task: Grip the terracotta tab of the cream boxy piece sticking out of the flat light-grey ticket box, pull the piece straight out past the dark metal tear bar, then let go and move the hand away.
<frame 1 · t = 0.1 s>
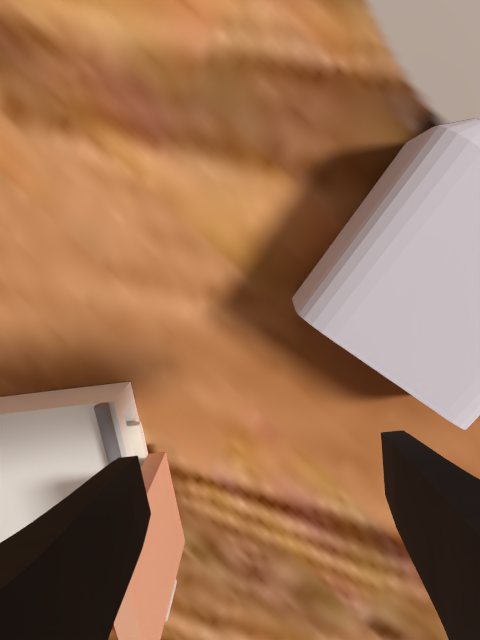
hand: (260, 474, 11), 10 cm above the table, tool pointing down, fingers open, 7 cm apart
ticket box: (61, 497, 24), on the table
charger: (455, 225, 19), on the table
cream boxy piece: (44, 556, 20), point 5 cm above the table, slide at 0.0 cm
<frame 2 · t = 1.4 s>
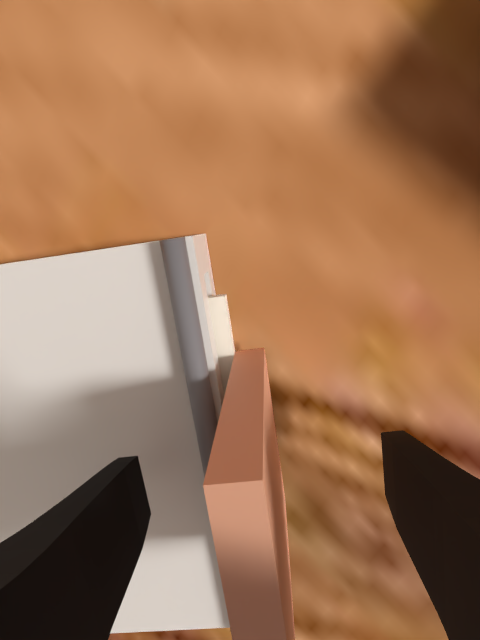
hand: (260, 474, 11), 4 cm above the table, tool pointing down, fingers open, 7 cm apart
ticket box: (87, 433, 16), on the table
cream boxy piece: (67, 511, 11), point 5 cm above the table, slide at 0.0 cm
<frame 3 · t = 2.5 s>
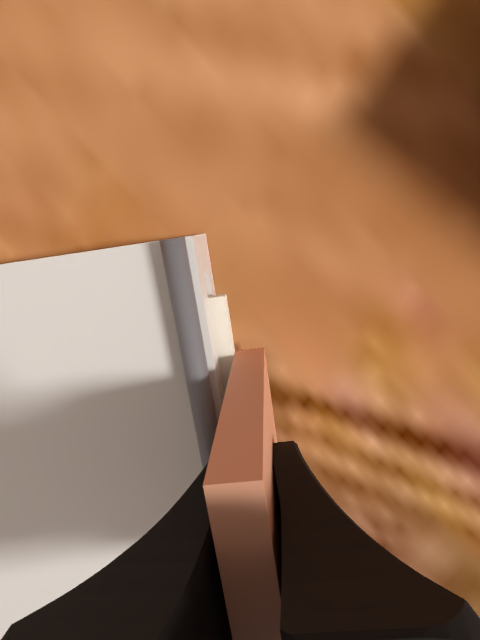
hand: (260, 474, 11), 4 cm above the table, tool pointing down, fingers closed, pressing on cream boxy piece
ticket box: (87, 433, 16), on the table
cream boxy piece: (67, 511, 11), point 5 cm above the table, slide at 0.0 cm, touching gripper
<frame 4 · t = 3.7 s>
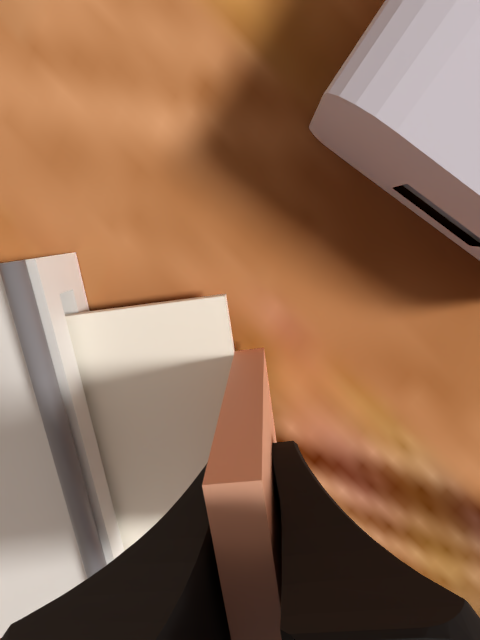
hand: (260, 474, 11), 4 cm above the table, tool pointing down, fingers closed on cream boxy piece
cream boxy piece: (66, 510, 11), point 4 cm above the table, slide at 4.7 cm, touching gripper
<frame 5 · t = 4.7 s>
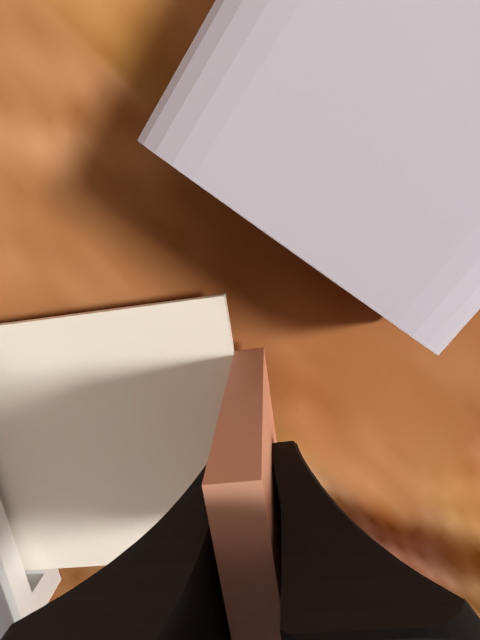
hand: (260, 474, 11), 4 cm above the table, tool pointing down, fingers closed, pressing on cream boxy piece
charger: (428, 40, 12), on the table
cream boxy piece: (66, 511, 11), point 5 cm above the table, slide at 8.9 cm, touching gripper
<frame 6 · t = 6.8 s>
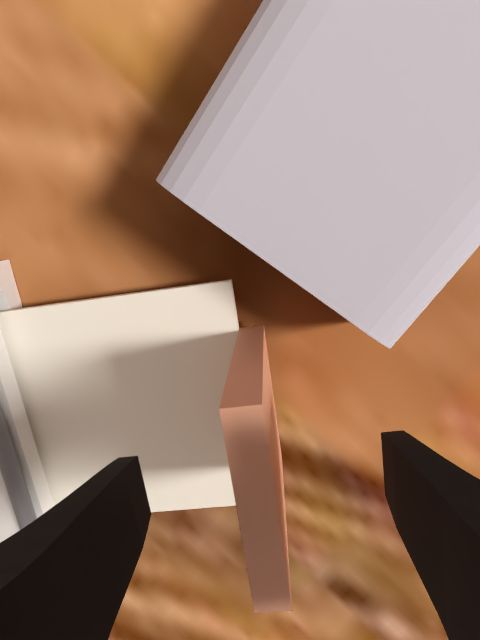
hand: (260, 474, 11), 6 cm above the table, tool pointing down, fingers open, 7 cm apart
charger: (391, 92, 15), on the table
cream boxy piece: (103, 454, 14), point 4 cm above the table, slide at 9.0 cm
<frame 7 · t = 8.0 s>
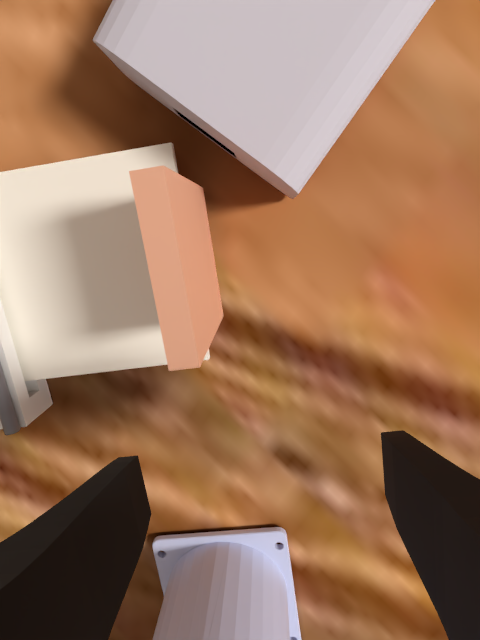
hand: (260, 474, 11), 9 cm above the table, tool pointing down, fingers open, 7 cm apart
cream boxy piece: (53, 282, 15), point 4 cm above the table, slide at 9.0 cm
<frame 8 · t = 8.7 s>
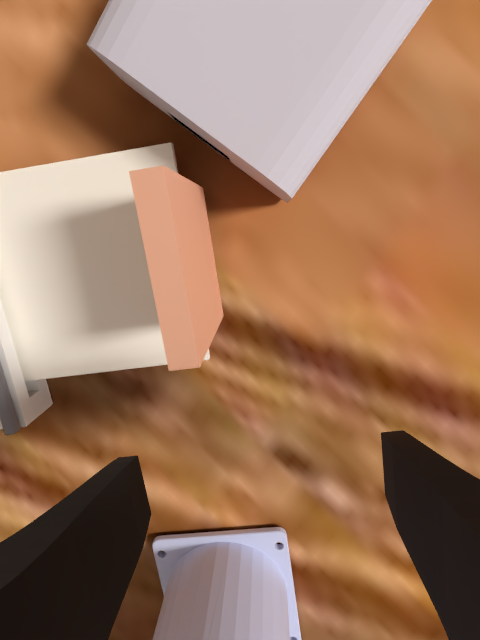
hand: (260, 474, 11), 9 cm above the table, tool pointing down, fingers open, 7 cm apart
cream boxy piece: (53, 282, 15), point 4 cm above the table, slide at 9.0 cm
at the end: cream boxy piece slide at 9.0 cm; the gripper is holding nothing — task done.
